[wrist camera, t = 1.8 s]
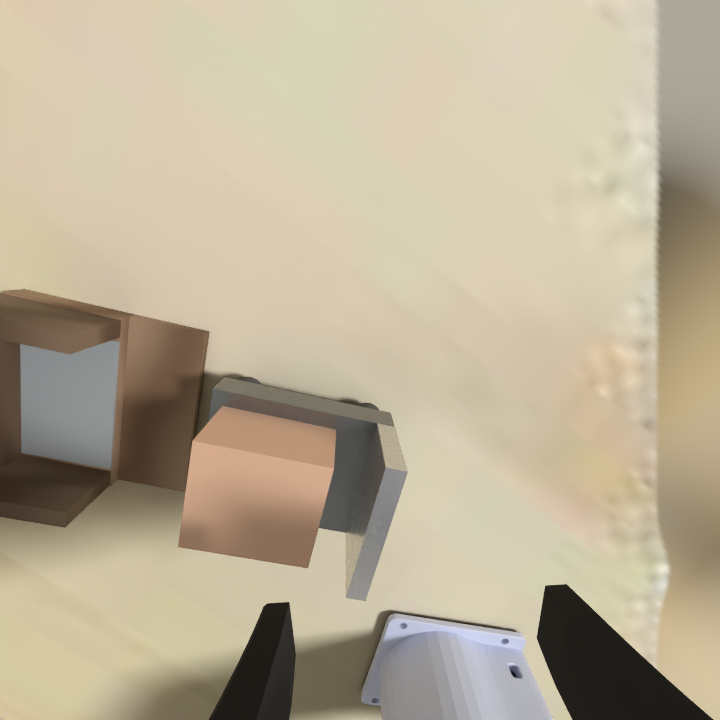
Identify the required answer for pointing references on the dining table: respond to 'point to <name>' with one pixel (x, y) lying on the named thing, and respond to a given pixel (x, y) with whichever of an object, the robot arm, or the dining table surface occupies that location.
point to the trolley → (292, 478)
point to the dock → (91, 403)
